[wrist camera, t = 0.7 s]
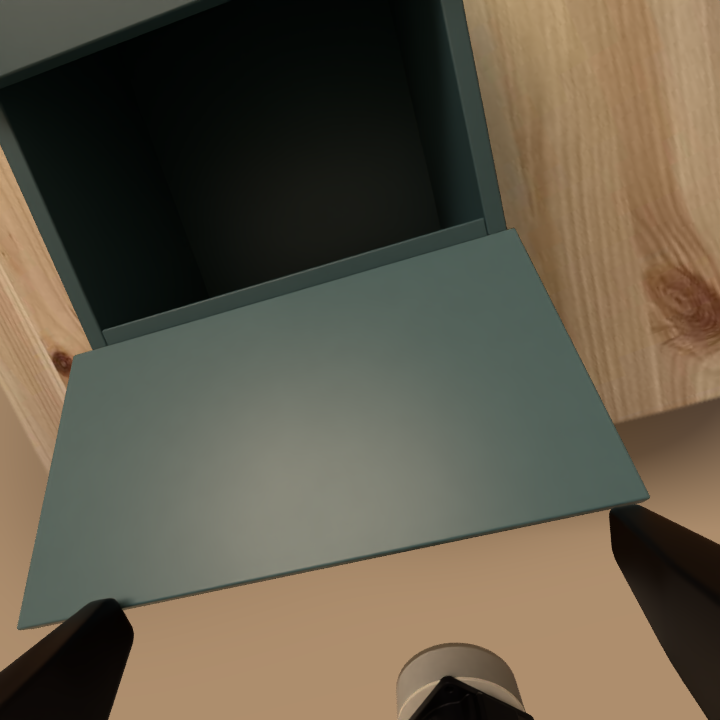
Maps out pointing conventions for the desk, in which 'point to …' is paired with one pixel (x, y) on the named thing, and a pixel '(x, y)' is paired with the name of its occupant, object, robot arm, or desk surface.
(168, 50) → the carton
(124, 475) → the flap
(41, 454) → the desk surface
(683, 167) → the desk surface
